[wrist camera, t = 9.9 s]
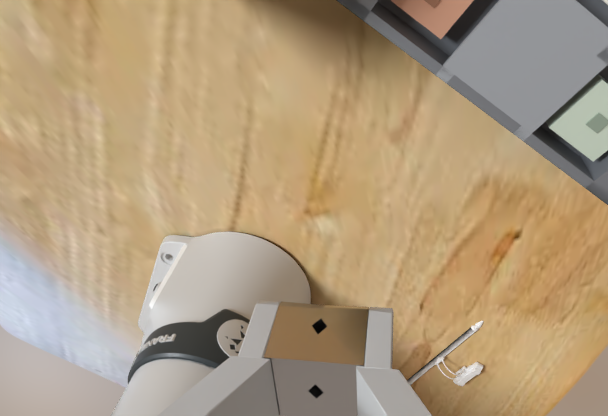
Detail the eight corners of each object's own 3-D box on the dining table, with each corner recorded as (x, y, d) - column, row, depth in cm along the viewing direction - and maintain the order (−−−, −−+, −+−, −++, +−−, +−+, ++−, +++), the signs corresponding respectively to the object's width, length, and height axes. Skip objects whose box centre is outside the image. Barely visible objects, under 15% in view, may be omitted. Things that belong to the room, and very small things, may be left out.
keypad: (592, 170, 39) (613, 209, 34) (338, -24, 34) (327, -7, 30) (787, 16, 31) (847, 41, 26) (491, -261, 26) (506, -284, 22)
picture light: (479, 316, 50) (482, 332, 48) (515, 335, 50) (519, 352, 48) (398, 384, 58) (398, 400, 56) (430, 399, 58) (431, 416, 56)
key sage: (587, 151, 35) (593, 162, 33) (544, 118, 34) (549, 128, 32) (639, 107, 32) (649, 118, 31) (595, 71, 32) (603, 80, 30)
